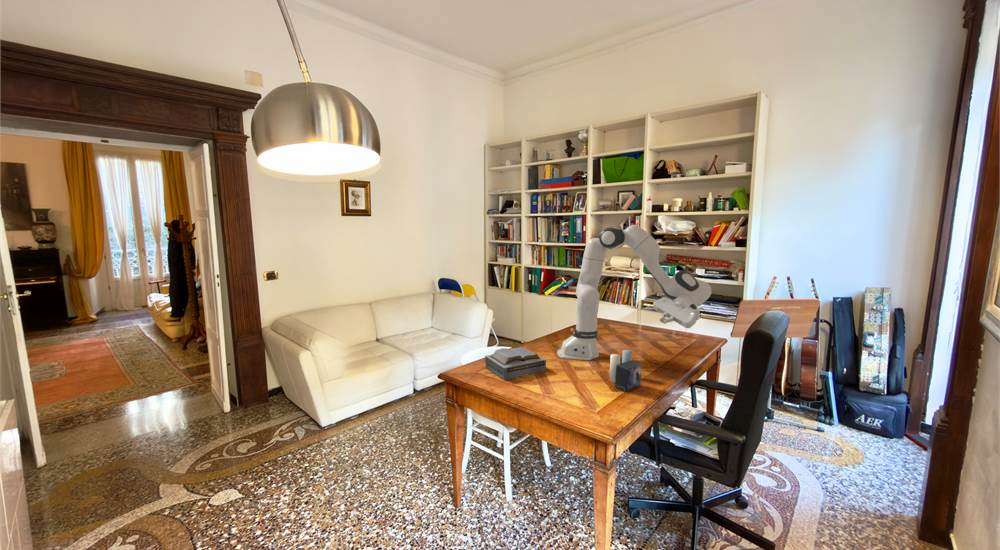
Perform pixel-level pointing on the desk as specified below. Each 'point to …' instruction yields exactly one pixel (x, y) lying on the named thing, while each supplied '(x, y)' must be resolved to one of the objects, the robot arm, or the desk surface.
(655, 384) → the desk surface
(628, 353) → the slate post
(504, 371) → the bible
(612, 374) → the cream post
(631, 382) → the small box
